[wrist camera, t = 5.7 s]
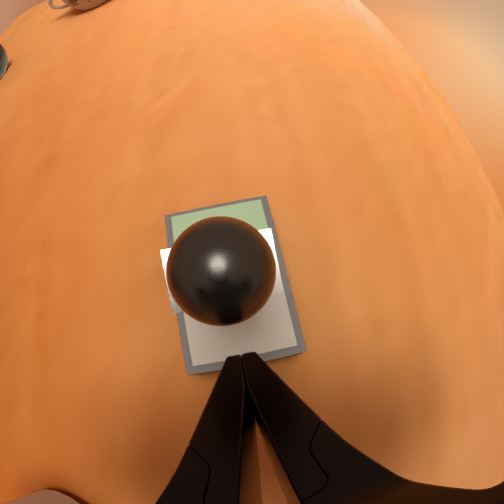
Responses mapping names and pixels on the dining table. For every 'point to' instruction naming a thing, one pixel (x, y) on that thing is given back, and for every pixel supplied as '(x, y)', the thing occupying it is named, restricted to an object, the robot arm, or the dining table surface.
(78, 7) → the teacup
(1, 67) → the ceramic mug
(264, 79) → the dining table surface
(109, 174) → the dining table surface
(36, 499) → the can
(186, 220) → the switch box
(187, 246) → the toggle lever
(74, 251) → the dining table surface
